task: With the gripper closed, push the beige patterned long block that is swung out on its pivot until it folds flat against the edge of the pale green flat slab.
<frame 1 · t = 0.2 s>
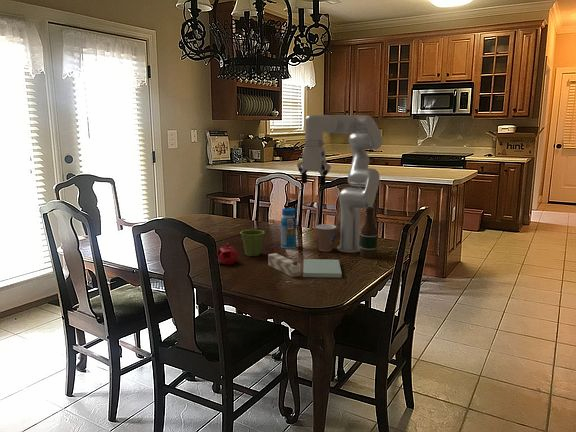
hand: (313, 184, 207), 37 cm above the table, tool pointing down, fingers open, 9 cm apart
pale green flat slab: (321, 269, 208), on the table
pomegranate: (227, 263, 218), on the table
beverage bottle: (288, 247, 245), on the table
beer bottle: (368, 256, 228), on the table
beige patterned long block: (283, 263, 206), point 3 cm above the table, hinge at 35.0°
plant pot: (252, 254, 231), on the table
coffee cup: (325, 249, 241), on the table
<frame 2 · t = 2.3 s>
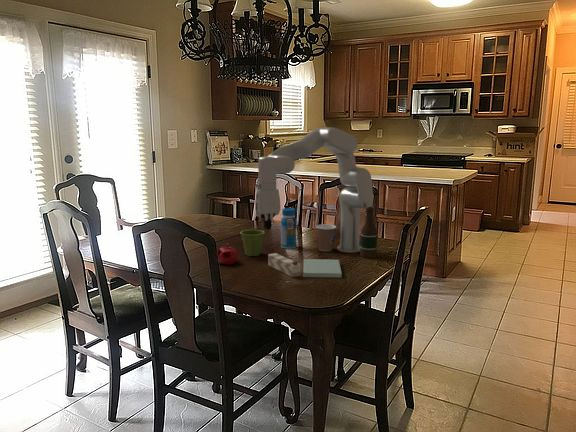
hand: (267, 228, 202), 19 cm above the table, tool pointing down, fingers closed
nothing on the table moved.
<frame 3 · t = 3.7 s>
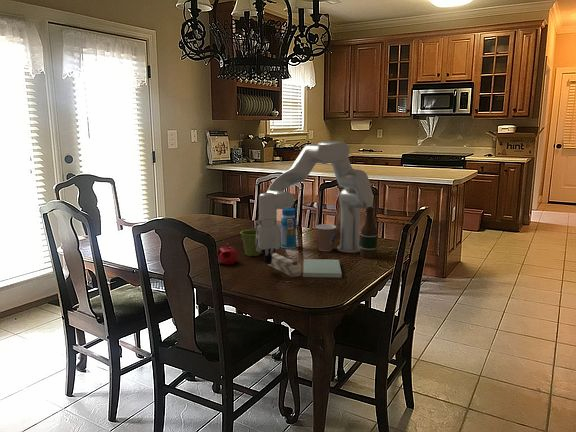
hand: (267, 263, 205), 4 cm above the table, tool pointing down, fingers closed
nothing on the table moved.
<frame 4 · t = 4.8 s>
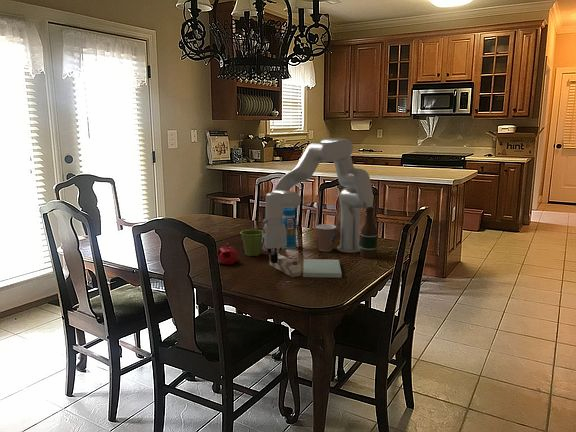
hand: (273, 262, 206), 4 cm above the table, tool pointing down, fingers closed
beige patterned long block: (284, 263, 206), point 3 cm above the table, hinge at 32.9°, touching gripper
everything else where it was.
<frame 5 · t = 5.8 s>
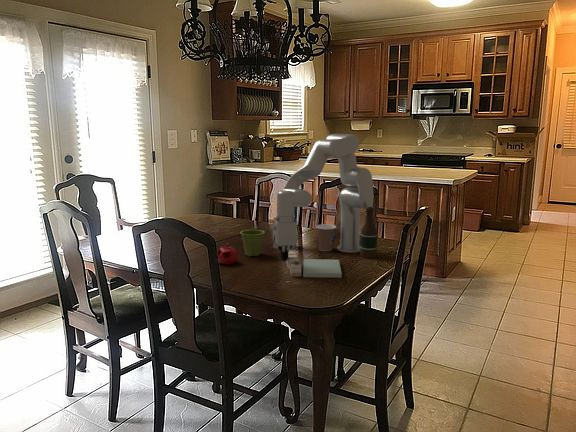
hand: (284, 260, 208), 4 cm above the table, tool pointing down, fingers closed
beige patterned long block: (293, 262, 207), point 3 cm above the table, hinge at 9.5°, touching gripper
everything else where it was.
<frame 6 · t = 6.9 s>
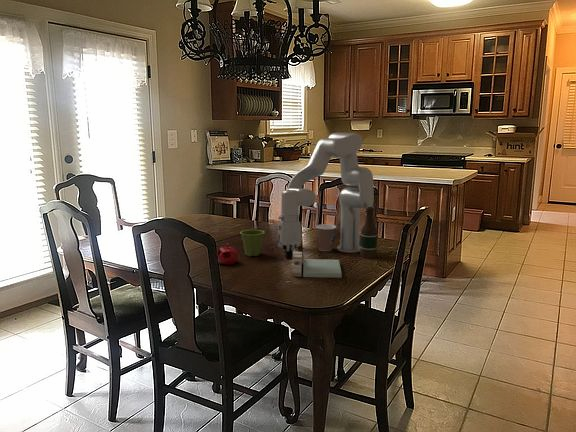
hand: (288, 259, 209), 4 cm above the table, tool pointing down, fingers closed
beige patterned long block: (297, 262, 207), point 3 cm above the table, hinge at -0.1°, touching gripper
everything else where it was.
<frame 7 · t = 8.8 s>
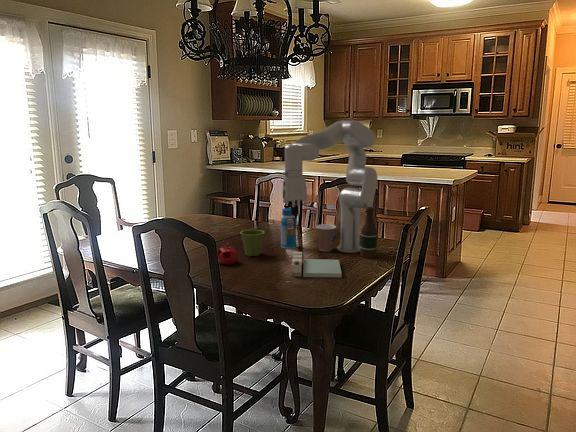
hand: (294, 215, 208), 23 cm above the table, tool pointing down, fingers closed
beige patterned long block: (297, 262, 207), point 3 cm above the table, hinge at -0.2°
everything else where it was.
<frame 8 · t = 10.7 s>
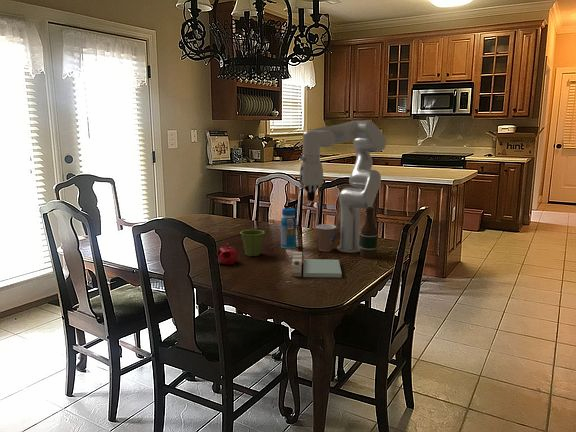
hand: (310, 200, 212), 29 cm above the table, tool pointing down, fingers closed
nothing on the table moved.
at the end: beige patterned long block at +0° (first picture: +35°) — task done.
